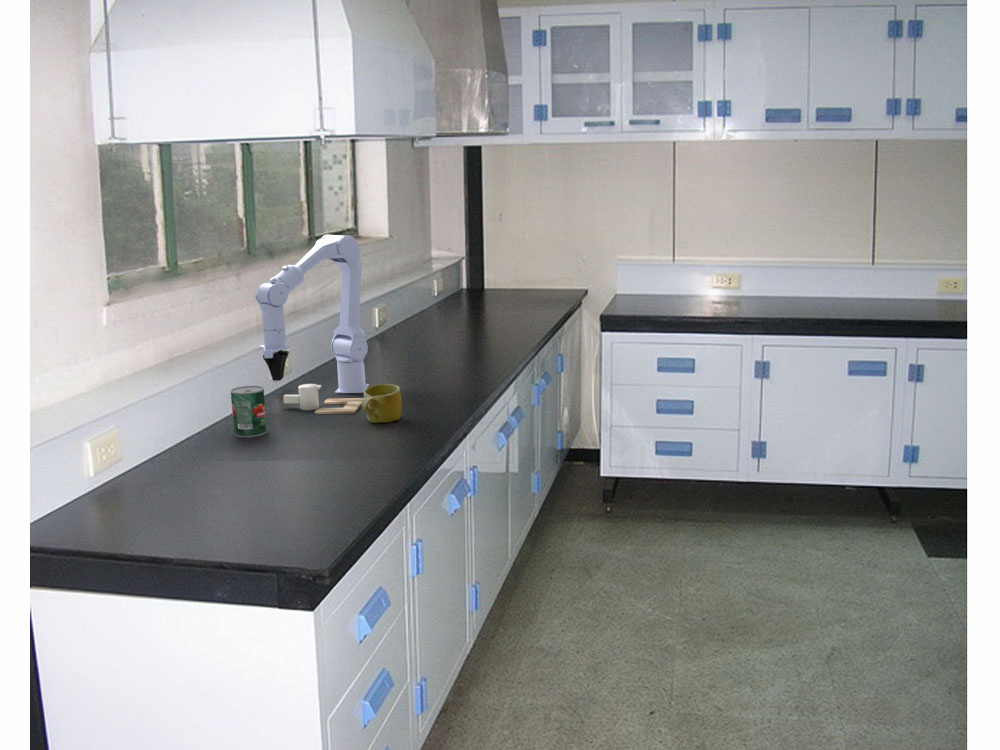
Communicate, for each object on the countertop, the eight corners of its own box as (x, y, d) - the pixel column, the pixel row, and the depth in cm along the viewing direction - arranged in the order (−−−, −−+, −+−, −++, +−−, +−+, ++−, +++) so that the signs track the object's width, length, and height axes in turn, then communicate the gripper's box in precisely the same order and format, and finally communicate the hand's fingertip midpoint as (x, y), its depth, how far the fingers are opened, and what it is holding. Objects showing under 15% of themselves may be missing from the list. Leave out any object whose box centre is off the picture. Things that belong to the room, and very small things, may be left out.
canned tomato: (232, 431, 254) (228, 387, 252) (264, 427, 257) (261, 384, 254) (236, 439, 247) (232, 394, 244) (269, 435, 249) (266, 390, 247)
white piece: (324, 405, 277) (322, 383, 276) (318, 410, 272) (317, 388, 271) (288, 405, 278) (286, 383, 277) (282, 410, 274) (280, 387, 272)
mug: (382, 404, 269) (383, 372, 263) (410, 421, 263) (411, 388, 258) (346, 422, 261) (347, 389, 255) (374, 440, 255) (375, 407, 250)
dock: (327, 400, 282) (327, 398, 282) (364, 400, 282) (364, 398, 281) (314, 414, 268) (314, 411, 268) (354, 413, 268) (354, 411, 267)
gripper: (266, 324, 278) (270, 373, 281) (250, 334, 264) (255, 386, 267) (292, 324, 278) (296, 373, 281) (278, 333, 264) (282, 385, 267)
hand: (277, 379), depth 274 cm, fingers closed
